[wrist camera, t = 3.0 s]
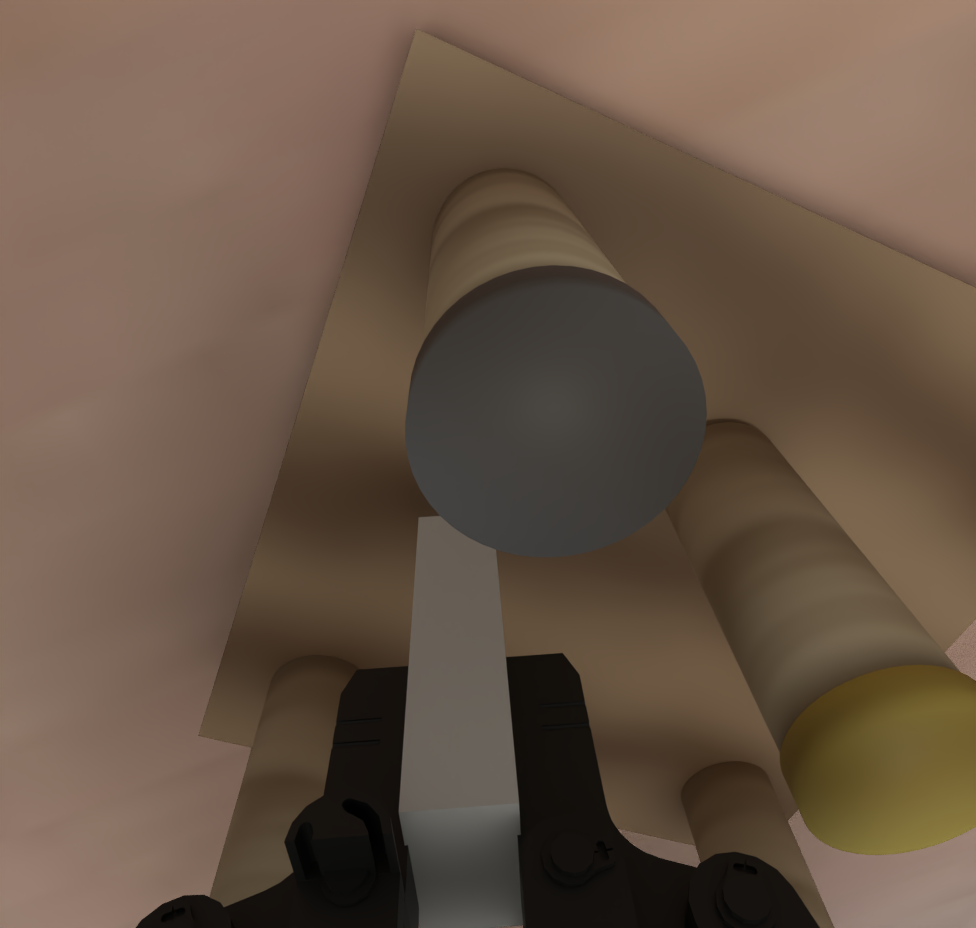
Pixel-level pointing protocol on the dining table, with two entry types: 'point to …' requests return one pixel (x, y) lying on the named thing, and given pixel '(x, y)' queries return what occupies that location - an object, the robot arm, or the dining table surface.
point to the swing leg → (828, 655)
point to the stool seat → (587, 446)
